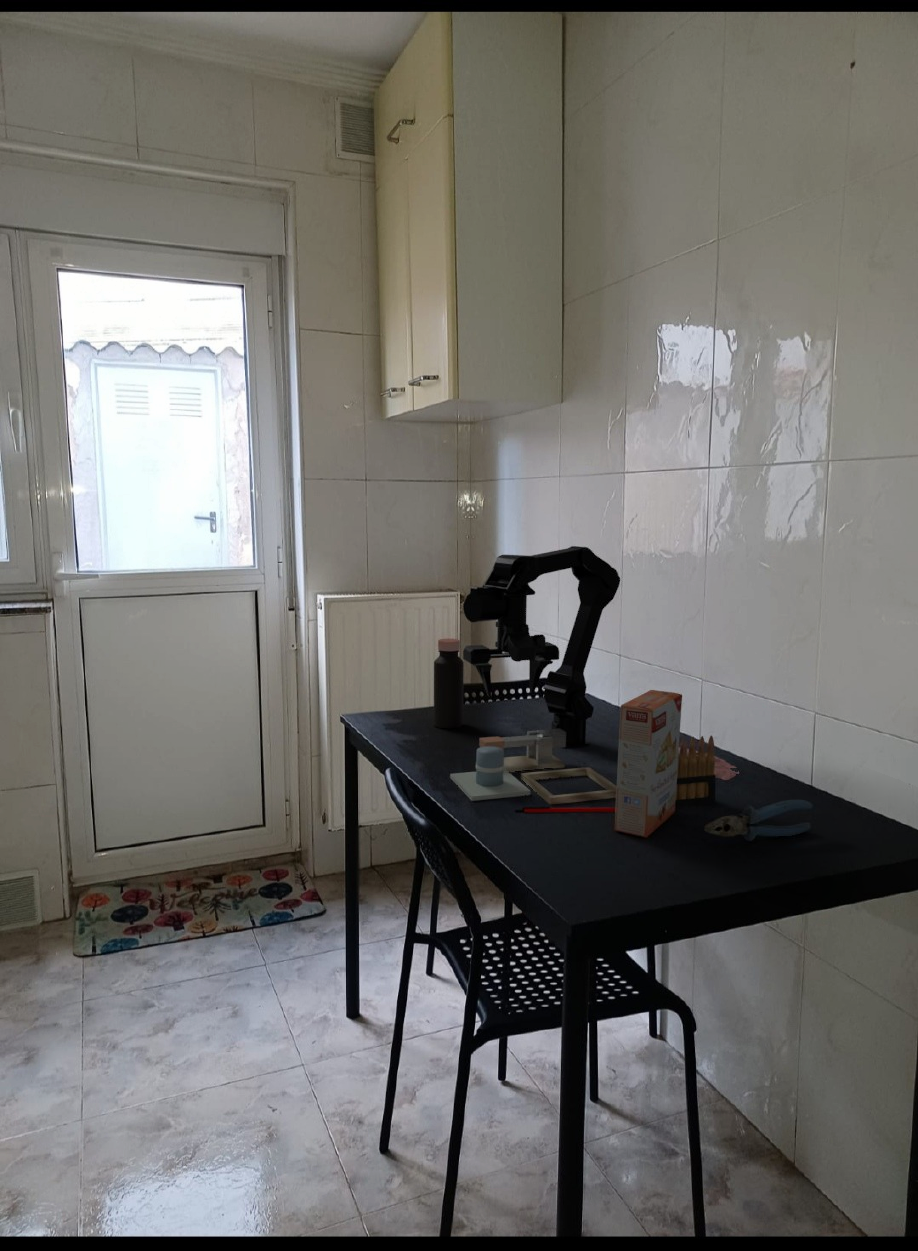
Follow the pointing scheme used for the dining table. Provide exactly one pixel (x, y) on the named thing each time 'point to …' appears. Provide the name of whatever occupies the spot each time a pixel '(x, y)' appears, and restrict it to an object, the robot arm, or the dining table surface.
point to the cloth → (719, 767)
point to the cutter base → (534, 756)
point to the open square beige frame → (575, 797)
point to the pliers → (750, 816)
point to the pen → (565, 809)
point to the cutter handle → (525, 739)
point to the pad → (479, 792)
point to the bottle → (448, 685)
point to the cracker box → (647, 762)
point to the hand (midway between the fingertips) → (510, 694)
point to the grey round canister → (489, 766)
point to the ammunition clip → (696, 774)
